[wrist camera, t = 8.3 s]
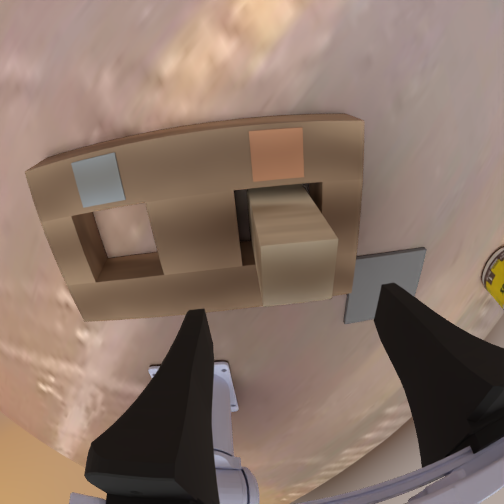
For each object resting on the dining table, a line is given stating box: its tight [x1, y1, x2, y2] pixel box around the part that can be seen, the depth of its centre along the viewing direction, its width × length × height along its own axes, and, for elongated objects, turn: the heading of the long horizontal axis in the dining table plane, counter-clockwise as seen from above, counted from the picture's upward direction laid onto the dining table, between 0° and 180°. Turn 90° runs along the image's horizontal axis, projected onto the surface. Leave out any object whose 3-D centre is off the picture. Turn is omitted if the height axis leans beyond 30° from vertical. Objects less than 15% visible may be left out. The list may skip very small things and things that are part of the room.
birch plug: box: [247, 184, 338, 307], centre depth 18 cm, size 3×3×8 cm
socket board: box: [25, 114, 364, 322], centre depth 19 cm, size 12×20×3 cm, turn 95°
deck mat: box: [344, 247, 426, 324], centre depth 26 cm, size 7×7×1 cm
